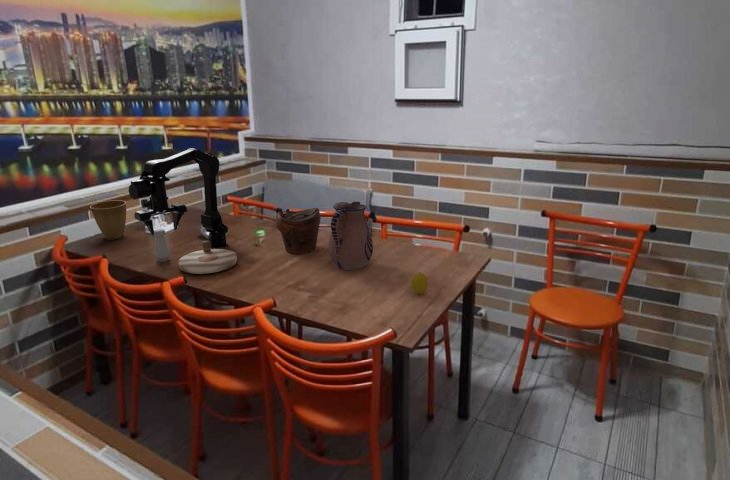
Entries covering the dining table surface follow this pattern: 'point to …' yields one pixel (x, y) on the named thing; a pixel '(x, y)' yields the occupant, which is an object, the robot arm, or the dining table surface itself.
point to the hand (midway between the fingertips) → (164, 232)
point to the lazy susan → (207, 260)
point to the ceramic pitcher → (350, 236)
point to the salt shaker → (161, 246)
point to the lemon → (419, 283)
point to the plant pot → (110, 218)
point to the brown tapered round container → (299, 229)
